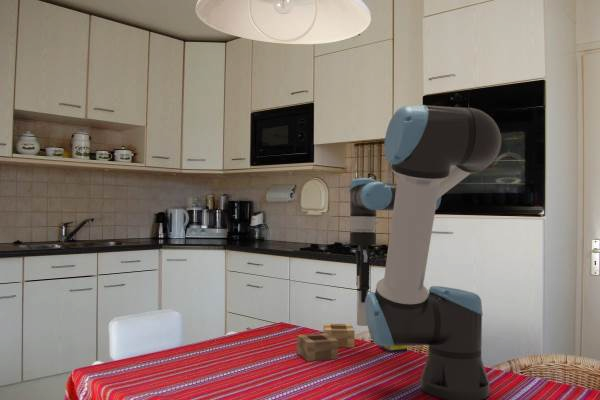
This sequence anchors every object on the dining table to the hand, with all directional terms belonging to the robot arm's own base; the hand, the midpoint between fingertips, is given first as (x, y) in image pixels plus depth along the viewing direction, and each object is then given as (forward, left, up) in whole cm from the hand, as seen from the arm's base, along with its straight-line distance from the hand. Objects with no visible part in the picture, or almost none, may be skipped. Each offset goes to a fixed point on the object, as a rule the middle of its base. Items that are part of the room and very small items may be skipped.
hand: (362, 312), depth 146 cm
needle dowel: (0, 0, -4) cm, 4 cm away
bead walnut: (-3, +13, -12) cm, 18 cm away
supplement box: (+5, -10, -12) cm, 16 cm away
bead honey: (+11, +6, -12) cm, 17 cm away
